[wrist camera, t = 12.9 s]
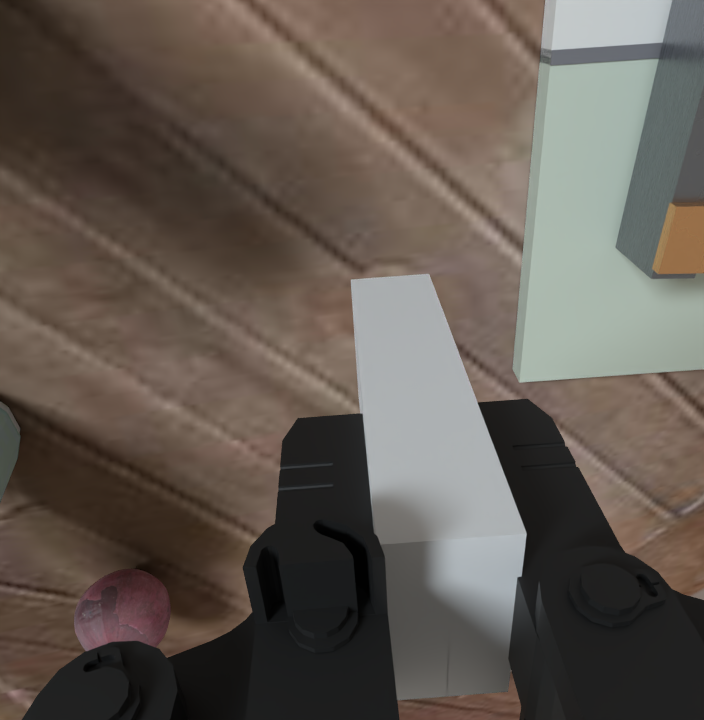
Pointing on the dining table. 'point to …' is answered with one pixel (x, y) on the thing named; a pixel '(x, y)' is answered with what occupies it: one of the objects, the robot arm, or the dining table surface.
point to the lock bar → (671, 158)
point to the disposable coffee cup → (7, 445)
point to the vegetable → (123, 610)
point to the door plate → (596, 206)
